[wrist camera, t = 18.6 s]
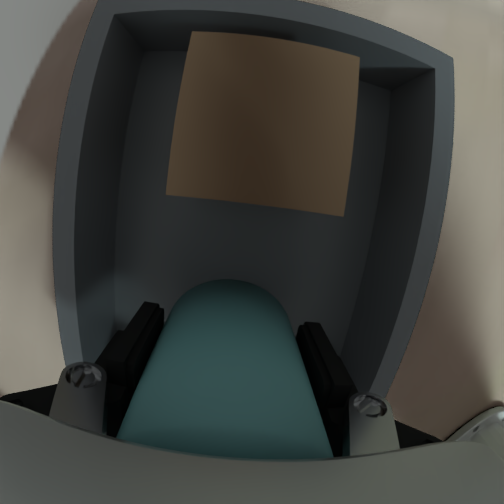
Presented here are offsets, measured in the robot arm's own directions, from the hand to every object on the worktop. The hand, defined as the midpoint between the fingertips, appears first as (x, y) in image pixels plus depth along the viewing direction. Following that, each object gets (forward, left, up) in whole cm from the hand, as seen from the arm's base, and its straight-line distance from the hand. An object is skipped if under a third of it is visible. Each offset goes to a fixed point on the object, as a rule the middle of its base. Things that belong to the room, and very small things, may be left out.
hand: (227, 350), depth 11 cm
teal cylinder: (0, 0, -1) cm, 1 cm away
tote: (0, -4, -5) cm, 6 cm away
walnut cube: (0, -8, -4) cm, 9 cm away
